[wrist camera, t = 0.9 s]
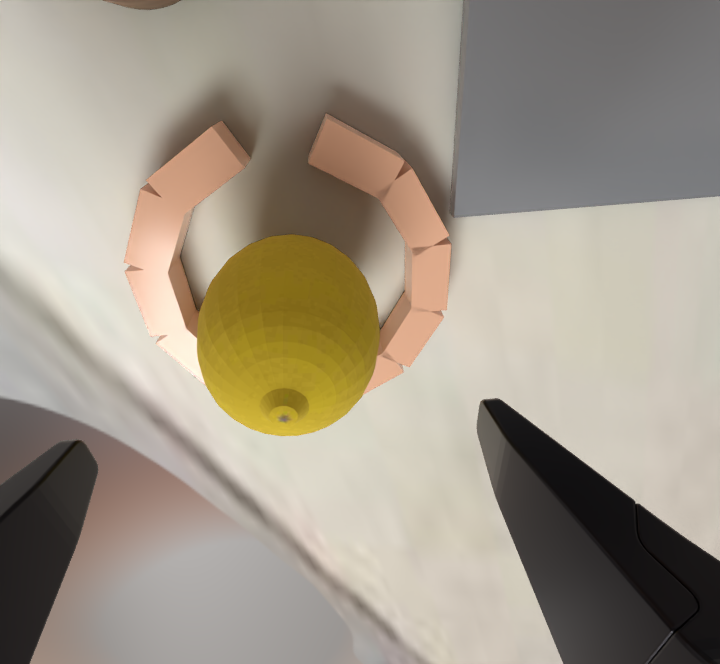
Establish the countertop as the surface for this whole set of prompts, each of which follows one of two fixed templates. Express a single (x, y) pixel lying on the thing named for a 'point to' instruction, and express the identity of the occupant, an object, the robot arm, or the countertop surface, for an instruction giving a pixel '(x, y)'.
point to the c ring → (330, 154)
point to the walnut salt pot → (144, 3)
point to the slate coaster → (585, 104)
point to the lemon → (288, 335)
